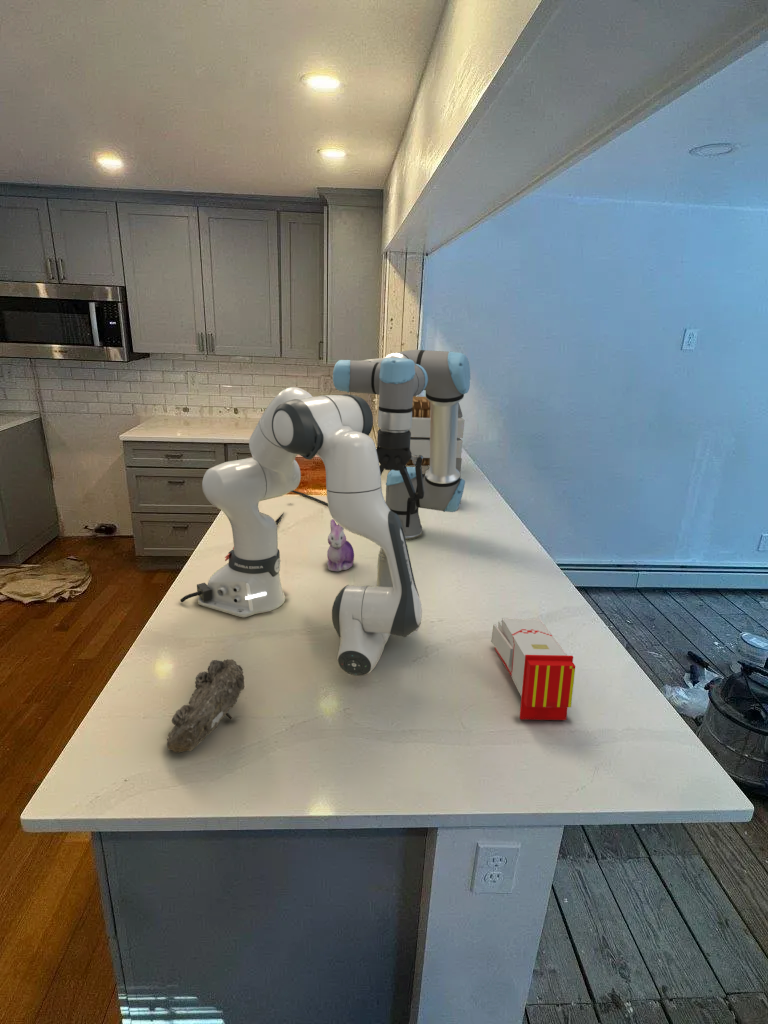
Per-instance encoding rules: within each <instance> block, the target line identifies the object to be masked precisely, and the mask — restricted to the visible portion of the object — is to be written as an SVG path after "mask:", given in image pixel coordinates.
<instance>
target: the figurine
mask: <svg viewBox="0 0 768 1024" xmlns="http://www.w3.org/2000/svg"><path fill="white" fill-rule="evenodd" d="M329 524H330V525H329V526H330V532H329V534H328V536H327V543H328V545H329V547H328V548H327V552H326V553H327V555H326V556H327V562H326V565H327V570H328V571H332V572H341V571H346V570H348V569H350V568H352V567H353V566H354V560H355V551H354V548H353V545H352V544H351V542H349V541H348V540H347V535H346V534H345V532H344V530H345V529H344V528H343V527H341V526H340V525H339V524H338V523H337V522H336V521H335V520H334V519H333V518H332V519H330V523H329Z"/></svg>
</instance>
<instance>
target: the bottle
mask: <svg viewBox="0 0 768 1024" xmlns="http://www.w3.org/2000/svg"><path fill="white" fill-rule="evenodd" d="M379 548H380V549H379V552H378V557H377V571H376V572H377V573H376V576H377V577H376V586H380V587H393V583H392V578H391V574H390V569H389V565H388V560H387V556H386V554H385V552H384V550H383V549H382V548H381V547H379Z"/></svg>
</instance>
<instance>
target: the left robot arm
mask: <svg viewBox="0 0 768 1024" xmlns="http://www.w3.org/2000/svg"><path fill="white" fill-rule="evenodd" d="M259 418H260V419H259V420H258V422H257V423H256V426H255V428H254V429H253V432H252V433H251V435H250V437H249V440H248V447H249V452H250V454H251V457H246V458H242V459H235V460H229V461H225V462H221V463H220V464H217V465H215V466H214V465H213V466H212V467H210V468H208V469H207V470H206V471H205V472H204V475H203V477H202V483H201V484H202V485H201V488H202V492H203V495H204V497H205V499H206V500H207V501H208V503H210V504H211V505H212V506H213V507H215V508H217V509H218V510H220V511H222V512H223V513H224V515H225V516H226V517H227V519H228V521H229V523H230V526H231V532H232V541H233V547H232V549H231V550H230V551H228V554H227V555H225V556H224V559H225V560H224V561H225V562H227V561H228V562H227V563H225V564H224V565H223V566H221V567H220V568H218V569H217V570H216V571H215V572H213V574H211V576H210V577H209V578H208V581H207V583H206V582H201V583H198V584H196V591H195V592H192V593H189V594H186V595H184V596H183V597H182V598H180V599H179V601H180V602H181V603H184V602H185V601H186V600H188V599H190V598H194V597H198V598H197V599H198V600H197V602H198V603H197V604H198V605H200V606H202V607H205V608H209V609H211V610H212V609H213V610H215V611H219V612H222V613H226V614H230V615H233V616H236V617H240V618H248V617H250V616H253V615H257V614H262V613H268V612H271V611H274V610H276V609H279V608H280V607H281V606H282V605H284V603H285V601H286V596H285V593H284V590H283V586H282V581H281V576H280V575H281V574H280V571H281V554H280V549H279V541H278V540H279V537H278V524H276V522H275V521H276V520H275V519H274V518H273V517H272V516H270V515H269V514H266V513H264V512H261V511H260V507H259V503H260V502H263V501H267V500H271V499H275V498H279V497H283V496H285V495H287V494H289V493H292V492H291V491H293V490H294V491H296V489H297V488H298V487H299V485H300V483H301V478H302V473H301V467H300V465H299V463H298V462H297V460H296V458H297V456H298V455H299V456H301V457H302V458H303V459H306V460H308V461H310V460H312V459H314V457H316V456H318V457H319V458H320V459H321V460H322V463H323V465H324V468H325V469H324V471H325V487H326V503H328V506H327V507H328V508H327V509H328V513H329V515H330V516H331V518H332V519H334V521H335V523H336V524H337V525H338V524H339V525H340V526H341V527H343V528H344V529H343V530H346V531H348V532H349V533H351V534H354V535H357V536H360V537H362V538H365V539H366V540H369V541H371V542H372V543H374V544H376V545H377V546H379V548H382V549H383V550H384V552H385V554H386V556H387V560H388V565H389V569H390V574H391V578H392V583H393V587H380V586H377V585H366V584H365V585H364V584H346V585H345V586H344V587H342V588H341V590H340V591H339V592H338V593H337V595H336V596H335V598H334V601H333V604H332V608H331V621H332V625H333V628H334V631H335V632H336V634H337V636H338V637H339V639H340V640H339V648H338V651H337V656H336V657H337V664H338V666H339V668H340V669H341V670H342V671H343V672H345V673H347V674H349V675H351V676H360V677H361V676H363V677H364V676H366V675H368V674H370V673H371V672H372V671H373V670H374V669H375V668H376V666H377V664H378V663H379V661H380V660H381V657H382V654H383V653H384V650H385V645H386V644H387V642H388V641H389V638H390V636H399V637H404V638H405V637H407V636H409V635H412V633H414V632H418V631H419V629H420V626H421V623H422V620H423V619H422V618H423V605H422V600H421V598H420V595H419V591H418V588H417V585H416V581H415V577H414V571H413V568H412V562H411V558H410V552H409V549H408V544H407V540H406V539H405V535H404V531H403V528H402V524H401V521H400V519H399V517H398V515H397V514H396V513H394V512H392V511H391V510H390V509H389V507H388V506H387V504H386V499H385V498H384V494H383V489H382V488H383V487H382V474H381V473H380V463H379V460H378V455H377V451H376V449H377V446H376V444H375V441H374V439H373V438H372V437H371V436H370V434H371V432H372V429H373V426H374V417H373V411H372V409H371V406H370V405H369V403H368V402H367V401H366V400H365V399H364V398H363V397H360V396H357V395H355V394H354V395H353V394H349V393H347V394H346V393H345V394H341V395H339V394H321V395H316V396H313V395H312V394H311V393H310V392H308V391H307V390H306V389H303V388H301V387H297V386H290V387H286V388H284V389H282V390H281V391H280V392H279V393H278V394H276V395H275V397H274V398H273V399H272V400H271V401H270V403H269V404H268V406H267V407H266V408H265V410H264V412H262V415H261V417H259Z"/></svg>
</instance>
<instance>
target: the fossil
mask: <svg viewBox="0 0 768 1024" xmlns="http://www.w3.org/2000/svg"><path fill="white" fill-rule="evenodd" d="M243 670H244V669H243V667H242V665H240V664H237V662H236V661H235V660H234V659H232V658H231V659H227V658H226V659H224V660H223V661H222V660H217V659H212V660H211V661H210V663H209V665H208V666H207V671H201V672H199V673H198V674H197V675H196V676H195V680H194V684H195V685H194V687H195V689H194V690H193V693H192V694H191V697H190V698H189V700H188V704H184V705H182V706H181V707H180V709H177V710H176V711H175V713H174V715H173V716H172V718H171V723H172V724H173V727H172V730H171V731H170V732H168V734H167V738H166V741H167V742H166V745H167V749H168V750H169V751H173V752H174V753H176V754H178V753H182V752H188V751H189V752H192V751H193V750H195V748H196V747H197V746H199V744H200V743H201V742H203V741H204V740H205V739H206V738H207V737H208V736H209V735H210V734H211V733H212V732H214V730H215V729H217V727H218V726H219V724H220V722H221V721H222V720H223V719H224V718H225V716H226V717H227V719H229V720H233V717H232V715H230V714H229V710H230V709H231V708H234V706H235V704H236V703H237V702H238V699H239V697H240V695H241V693H242V691H243V690H245V689H244V688H245V675H244V671H243Z"/></svg>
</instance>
